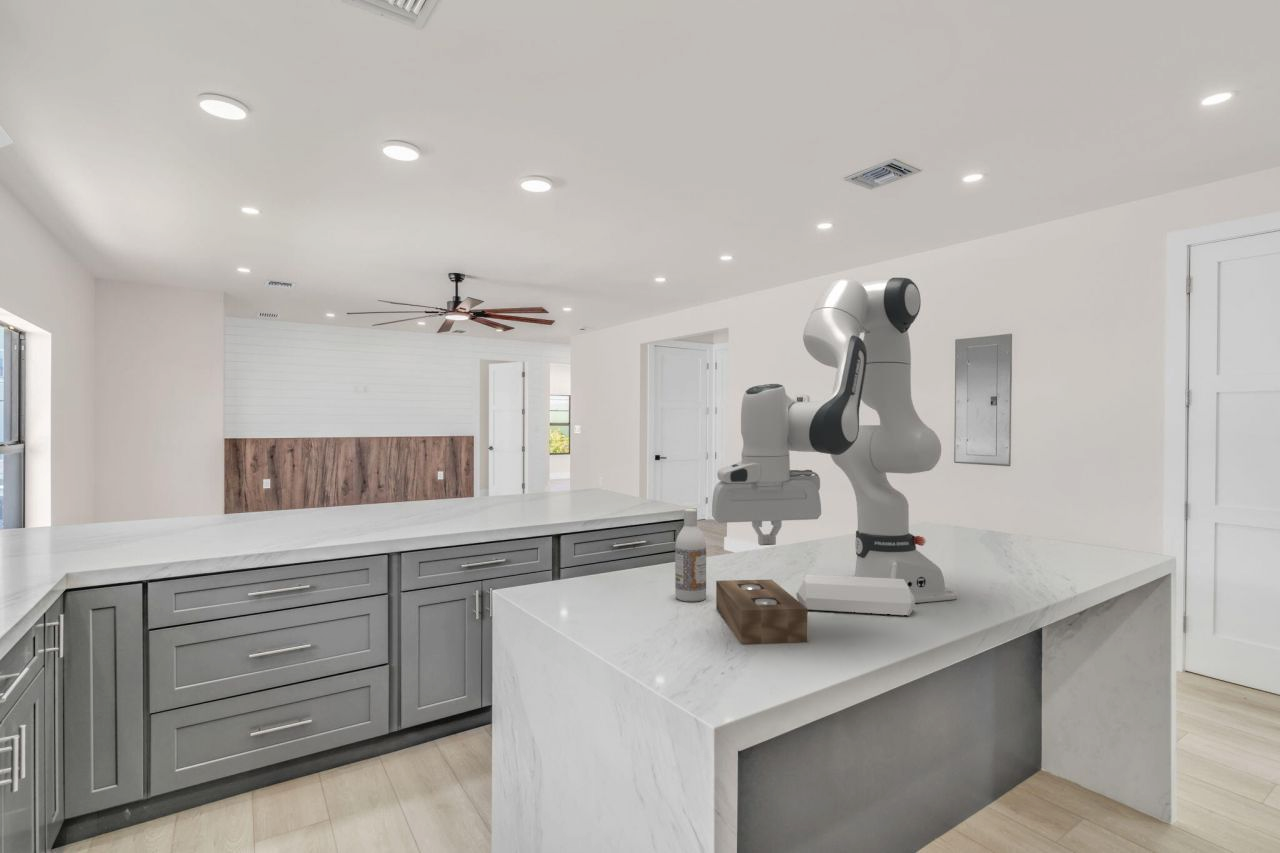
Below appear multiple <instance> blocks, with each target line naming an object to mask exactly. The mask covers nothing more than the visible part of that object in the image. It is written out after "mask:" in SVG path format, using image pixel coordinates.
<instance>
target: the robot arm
mask: <svg viewBox="0 0 1280 853" xmlns="http://www.w3.org/2000/svg"><path fill="white" fill-rule="evenodd" d="M920 309H921V293H920V290H919V287H918V286H917V284H916V283H915V282H914V281H913V280H912V279H910V278H907V277H891V278H889V279H878V280H870V281H865V282H863V283H860V282H859V281H856V280H855V279H851V278H839V279H836V280H834V281H832V282H830V283H829V284H828V286H826V288H825V289H824V290H823V292H822V293H821V295H820V296H819V298H818V300H817V301H816V303H815V305H814V307H813V308H812V310H811V312H810V315H809V317H808V318H807V321H806V324H805V326H804V330H803V335H802V340H803V345H804V347H805V349H806V351H807V353H808V354H809V355H810V356H811V358H813V359H814V360H816V361H817V362H819V363H820V364H822V365H825V366H828V367H831V368H835V369H837V370H836V374H835V378H834V379H835V380H834V384H833V389H832V394H831V395H830V396H829V397H827V398H824V399H822V400H818V401H796V400H795V399H792V398H791V397H789V395H788V394H787V392H786V389H785V386H784V385H783V384H779V383H769V384H768V383H767V384H763V385H761V384H760V385H755V386H752V387H749V388H748V389H746V390H745V391H744V394H743V397H742V402H741V409H740V410H741V411H740V433H741V437H742V442H743V445H742V450H741V461H739V462H736V463H733V464H731V465H728V466H725V467H722V468H720V469H718V470H717V479H718V480H719V481H718V482H717V484H716V485H715V486H714V489H713V493H712V504H711V515H712V518H713V519H714V520H715V521H716V522H717V523H719V524H722V523H724V524H725V523H726V524H727V523H748V522H749V523H750V522H751V526H752V528H753V530H754V532H755V533H756V535H757V543H758V545H759V546H777V545H776V543H777V535H778V533H779V532H780V531H781V528H782V525H783V524H782V521H808V520H809V521H810V520H818V519H819V518H820V516H821V515H822V505H821V504H822V503H821V497H820V492H819V491H820V488H821V477H820V476H819V474H818V473H817V472H815V471H813V470H812V469H803V470H799V469H790V468H791V467H790V466H791V464H790V463H791V462H790V461H791V460H790V452H792V451H793V452H804V453H806V452H807V453H808V452H809V453H820V454H828V455H830V458H831V460H832V461H833V463H834V464H835V465H836V466H837V467H839V468H840V469H841V470H842V472H843V473H844V474H845V476H846V477H847V478H848V480H849V482H850V483H851V487H852V490H853V492H854V495H855V501H856V508H857V509H856V512H857V530H856V531H855V541H854V542H855V546H854V547H855V555H856V563H855V569H854V575H853V577H870V578H891V579H904V580H905V582H906V584H907V585H908V587H909V589H910V591H911V592H912V594H913V596H914V598H915V603H914V604H917V603H918V604H919V603H928V602H941V601H951V600H952V601H953V600H956V599H957V595H956V592H955V591H954V590H952V589H951V588H948V587H946V585H945V579H944V578H945V577H944V575H943V572H942V570H941V568H940V567H939V566H938V565H937V564H936V563H934V562H933V561H932V560H931V559H929V558H928V557H926V556H925V555H924V554H923V553H922V552H920V551H919V550H917V546H916V545H918V546H920V547H922V546H925V544H926V538H925V537H923V536H920V535H914V534H912V533H910V531H909V528H910V527H909V522H910V520H909V518H910V517H909V513H910V512H909V502H908V499H907V497H906V496H905V495H904V494H903V493H902V492H901V491H899V490H897V489H895V488H894V487H893V486H892V485H891V483H890V482H889V479H888V478H887V474H886V473H888V474H889V473H891V474H905V475H907V474H908V475H909V474H917V473H924V472H929V471H931V470H933V469H934V468H935V467H936V466H937V464H938V462H939V461H940V458H941V455H942V444H941V441H940V440H941V439H940V438H939V436H938V435H937V434H936V432H935V431H934V430H933V429H932V428H930V427H929V426H928V425H926V424H925V423H924V422H923V420H922V419H921V418H920V416H919V415H918V413H917V411H916V408H915V406H914V404H913V398H912V388H911V386H912V385H911V383H912V382H911V372H912V369H911V368H912V366H911V365H912V363H911V362H912V358H911V357H912V356H911V343H910V336H909V332H908V330H909V329H910V327H911V325H912V324H913V323H914V322H915V321H916V319H917V317H918V315H919V312H920V311H921V310H920ZM862 333H863V334H864V335H863V339H862V338H860V335H861V334H862ZM861 401H862V402H863V404H864V405H865V406H867V407H868V408H870V409H872V410H875V412H876V413H877V414H878V418H879V422H880V423H879V424H878V425H877V424H876V425H874V424H873V425H871V424H870V425H866V424H864V425H862V424H861V425H860V408H861ZM763 522H770V525H771V526H773V527H772V528H771V529H770V530H771V531H770V532H769V533H767V534H766V533H765V534H764V533H763V532H762V530H761V528H762V527H763Z"/></svg>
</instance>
